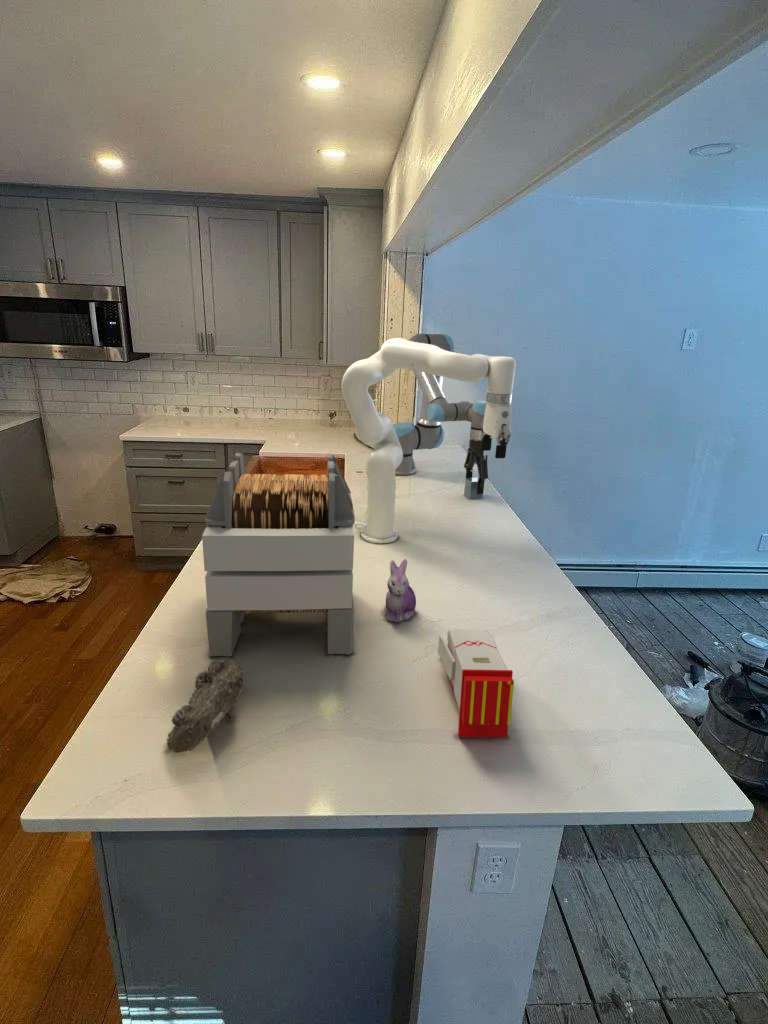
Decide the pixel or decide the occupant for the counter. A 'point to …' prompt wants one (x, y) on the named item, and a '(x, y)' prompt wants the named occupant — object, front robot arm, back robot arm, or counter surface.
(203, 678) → the fossil
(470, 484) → the brick
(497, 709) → the toy
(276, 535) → the record crate stand
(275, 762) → the counter surface
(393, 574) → the figurine
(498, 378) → the front robot arm
